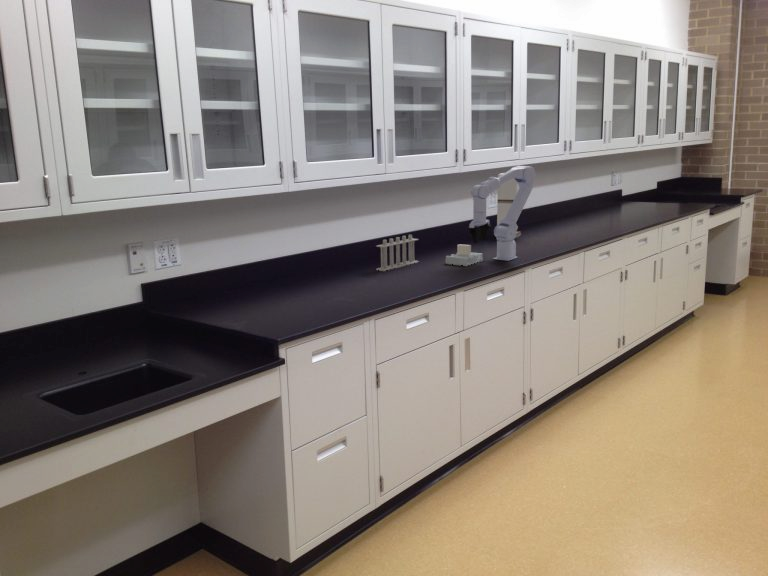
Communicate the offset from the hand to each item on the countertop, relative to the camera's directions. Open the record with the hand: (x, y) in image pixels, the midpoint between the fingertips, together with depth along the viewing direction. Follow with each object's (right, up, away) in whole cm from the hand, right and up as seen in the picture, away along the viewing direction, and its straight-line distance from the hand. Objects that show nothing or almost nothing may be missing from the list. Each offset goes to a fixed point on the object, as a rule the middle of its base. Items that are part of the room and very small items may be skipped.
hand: (479, 241), depth 305 cm
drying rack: (-7, -9, +2) cm, 12 cm away
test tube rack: (-37, -12, -3) cm, 39 cm away
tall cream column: (+27, +8, +75) cm, 81 cm away
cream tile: (-7, -8, +2) cm, 11 cm away
